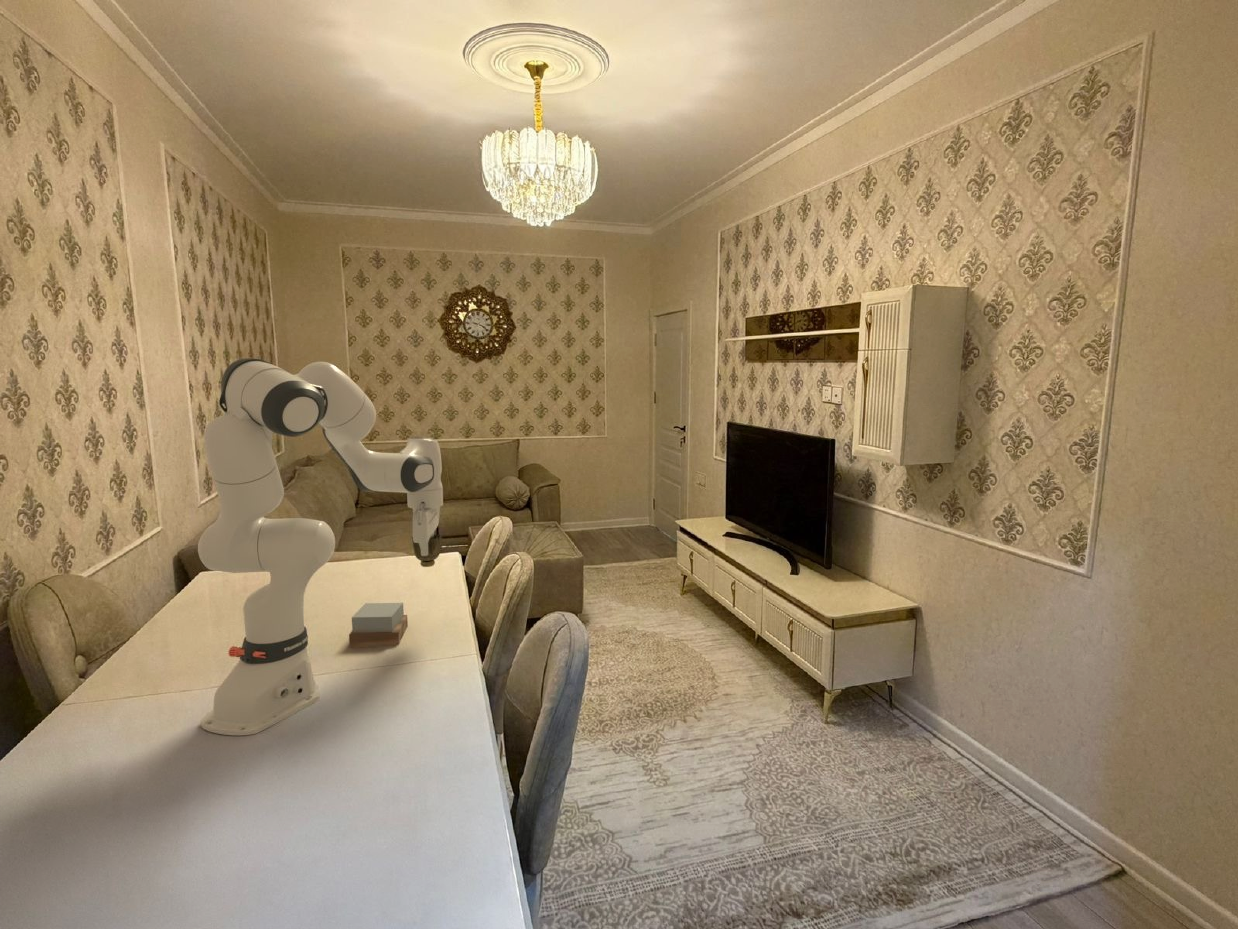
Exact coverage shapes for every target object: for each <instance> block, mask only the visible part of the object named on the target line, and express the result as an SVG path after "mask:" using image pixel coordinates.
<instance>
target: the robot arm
mask: <svg viewBox="0 0 1238 929" xmlns="http://www.w3.org/2000/svg"><path fill="white" fill-rule="evenodd" d="M220 384H221V385H220V390H221V393H220V396H219V402H218V404H219V407H220V408H221V410H222V411H223V412H224V414H222V415H219V416H217V417H215V418H213V419H212V420H211V421H210V422H209V423H208V424H207V425H206V427H205V430H204V435H203V437H204V448H205V454H206V459H207V460H206V461H207V463H208V467H209V472H210V474H211V476H212V480H213V483H214V487H215V490H216V494H217V496H218V500H219V505H220V512H219V514H218V515H219V516H218V518H217V519H216V520H215V521H214V522H213V523H211V524H210V525H209V526H208V527H207V528H205V529H204V531H203V532H202V534H201V535H200V538H199V540H198V543H197V544H198V545H197V553H198V556H199V560H200V561H201V563H202V564H203V565H204V566H205V567H206V569H208V570H210V571H217V572H222V573H229V574H245V573H264V572H265V573H266V572H267V573H269V574H270V581H269V583H268V584H266V585H264V586H262V587H259V588H258V589H256V590H255V591H253V592H252V593H250V595H249V596H248V597H247V598H246V599H245V602H244V603H243V608H242V610H243V621H244V622H243V623H244V624H243V625H244V633H245V636H244V639H243V640H242V645H241V646H240V647H238V646H235V645H234V646H233V645H232V646H230V647H229V649H228V650H227V651H228V653H227V654H228V656H229V657H235V658H239V660H238V662H237V663H236V665H235V666H234V667H233V669H231V671H230V673H229V674H227V676H226V677H225V678H224V680H223V681H222V683H221V684H220V685H219V686H218V687H217V689H216V691H215V693H214V695H213V697H214V698H213V709H212V710H211V711H210V712H208V713H206V715H204V716H203V717H202V718H201V719H200V724H199V725H200V727H201V728H202V729H203V730H205V731H207V732H210V733H213V734H218V735H225V736H249V735H256V734H258V733H260V732H262V731H265V730H266V729H268V728H269V727H272V726H273V725H275V724H277V723H279V722H281V721H283V720H285V719H287V718H288V717H290V716H292V715H294V714H296V713H298V712H299V711H301V710H303V709H305V708H307V707H309V706H311V705H312V704H314V703H316V702H318V701H319V700H320V695H319V692H318V685H317V683H316V681H315V678H314V674H313V673H314V672H313V668H312V663H311V661H310V658H309V654H308V650H307V646H308V644H309V640H308V638H309V636H308V630H307V627H306V626H305V616H304V614H305V611H304V610H305V609H304V605H305V604H304V602H305V600H304V599H305V593H306V589H307V586H308V584H309V582H310V581H311V578H312V577H314V575H315V573H317V572H318V570H320V569H321V568H322V567H324V566H325V565H326V564H327V563H328V562H329V561H330V559H331V558H332V556H333V554H334V552H335V547H336V537H335V534H334V533H335V532H334V531H333V530H332V528H331V526H330V525H329V524H328V523H326V521H324V520H317V519H314V518H305V517H292V518H291V517H290V518H288V517H287V518H267V517H265V516H267V515H269V514H271V512H273V511H274V510H276V509H277V508H278V507H279V506H280V504H281V503H282V501H283V499H284V497H285V496H284V495H285V489H284V488H285V487H284V484H283V480H282V478H281V473H280V471H279V470H280V469H279V467H278V463H277V459H276V457H275V453H274V451H273V448H272V446H273V441H272V440H273V435H274V434H277V435H281V436H283V437H284V436H285V437H288V438H289V437H290V438H291V437H292V438H297V437H300V436H304V435H305V434H308V433H309V432H311V431H312V430H313V429H315V427H317V425H319V424H320V426H322V427H321V428H322V434H323V437H324V440H325V441H326V442H327V444H328V445H329V446H330V448H331V449H332V451H333V452H334V453H335V454H336V456H337V457H338V459H340V461H341V462H342V463H343V465H345V467H346V468H347V470H348V472H349V474H350V476H351V478H352V481H353V482H354V484H355V486H356V487H357V488H358V489H359V490H360V491H362V492H366V493H373V492H374V493H375V492H377V493H378V492H379V493H380V492H383V493H384V492H387V493H402V494H403V493H405V494H406V496H407V497H406V498H407V507H408V508H409V509H412V513H413V514H412V537H413V539H412V540H413V541H414V543H419V545H420V549H421V556H427V555H428V554H429V548H428V541H429V539H430V538H431V537H433V536H434V534H435V531H436V529H437V528H438V526H439V525H440V524H439V523H440V516H441V511H440V510H441V507H442V506H444V491H443V490H444V488H443V483H442V479H441V478H442V477H441V476H442V471H443V468H442V467H443V466H442V465H443V464H442V454H441V448H440V447H441V446H440V445H439V442H438V440H436V438H431V437H423V436H421V437H420V436H412V437H410V438H407V442H406V446H405V447H404V448H403V449H402V450H400V451H399V452H395V453H394V452H379V451H373V450H370V449H367V448H366V447H365V446H364V444H363V443H362V440H363V439H364V438H366V437H367V436H368V435H369V434H370V433H371V431H372V430H373V429H374V426H375V424H376V420H377V411H376V407H375V406H374V403H373V402H372V400H371V399H370V398H369V396H368V395H367V394H366V393H365V392H364V391H363V389H362V388H361V387H360V386H359V385H358V384H357V383H356V382H355V381H354V380H353V379H352V378H350V377H349V375H348V374H346V373H345V372H344V371H343V370H341V369H339V367H337V366H336V365H334V364H333V363H330V362H328V361H315V362H311V363H309V364H307V365H306V366H304V367H303V368H302V369H301V370H300V371H299V372H298V373H296V374H292V373H290V372H289V371H287V370H285V369H283V368H281V367H279V366H276V365H274V364H272V363H270V362H268V361H266V360H264V359H260V358H254V357H246V358H244V357H243V358H240V359H237V360H235V361H233V362H231V363H230V364H229V365H228V366H227V367H226V369H225V370H224V373H223V374H222V379H221V383H220ZM413 541H412V542H413Z"/></svg>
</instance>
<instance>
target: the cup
mask: <svg viewBox="0 0 1238 929" xmlns="http://www.w3.org/2000/svg"><path fill="white" fill-rule="evenodd" d="M442 537H443V536H442V535H440V534H439V533H438V534H436V533H434V536H433V537H431V538H430V539H429V541H428V548H429V554H428V555H427V556H421V549H420V545H419V543H414V541H413V536H411V540H412V546H413V547H412V548H413V551H414V556H415V557H416V559H417V560H419V561H420V563H419V565H420V566H421V567H423V568H430V567H434V566H435V564H436V562H435V560H436V559H437V558H439V556H440V553H441V547H442Z"/></svg>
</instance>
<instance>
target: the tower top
mask: <svg viewBox="0 0 1238 929" xmlns="http://www.w3.org/2000/svg"><path fill="white" fill-rule="evenodd" d="M404 610H405V609H404V602H378V603H377V602H371V603H370V602H366V603H364V604H363V605H362V606H361V607H360V608H359V609H357V611H356V612H355V614H354V615H353V616H351V627H352V628H351V631H353V632H393V630H394V629H395V628H396V626H397V625H398V624H399V623H400V621H401V620H402V619H403V617H404V615H405V613H404Z"/></svg>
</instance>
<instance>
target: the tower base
mask: <svg viewBox="0 0 1238 929" xmlns="http://www.w3.org/2000/svg"><path fill="white" fill-rule="evenodd" d="M408 622H409V621H408V614H404V617H403V619H402V620H401V621H400V623H399V624H398V625H397V626H396V628H395V629H394V630H393V632H353V631H352V630H351V631H350V633H349V635H348V642H349V649H353V648H365V647H381V646H384V647H385V646H396V645H400V643H401V641H402V639H403V636H404V635H405V633H406V631H407V628H408V627H409V625H408Z"/></svg>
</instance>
